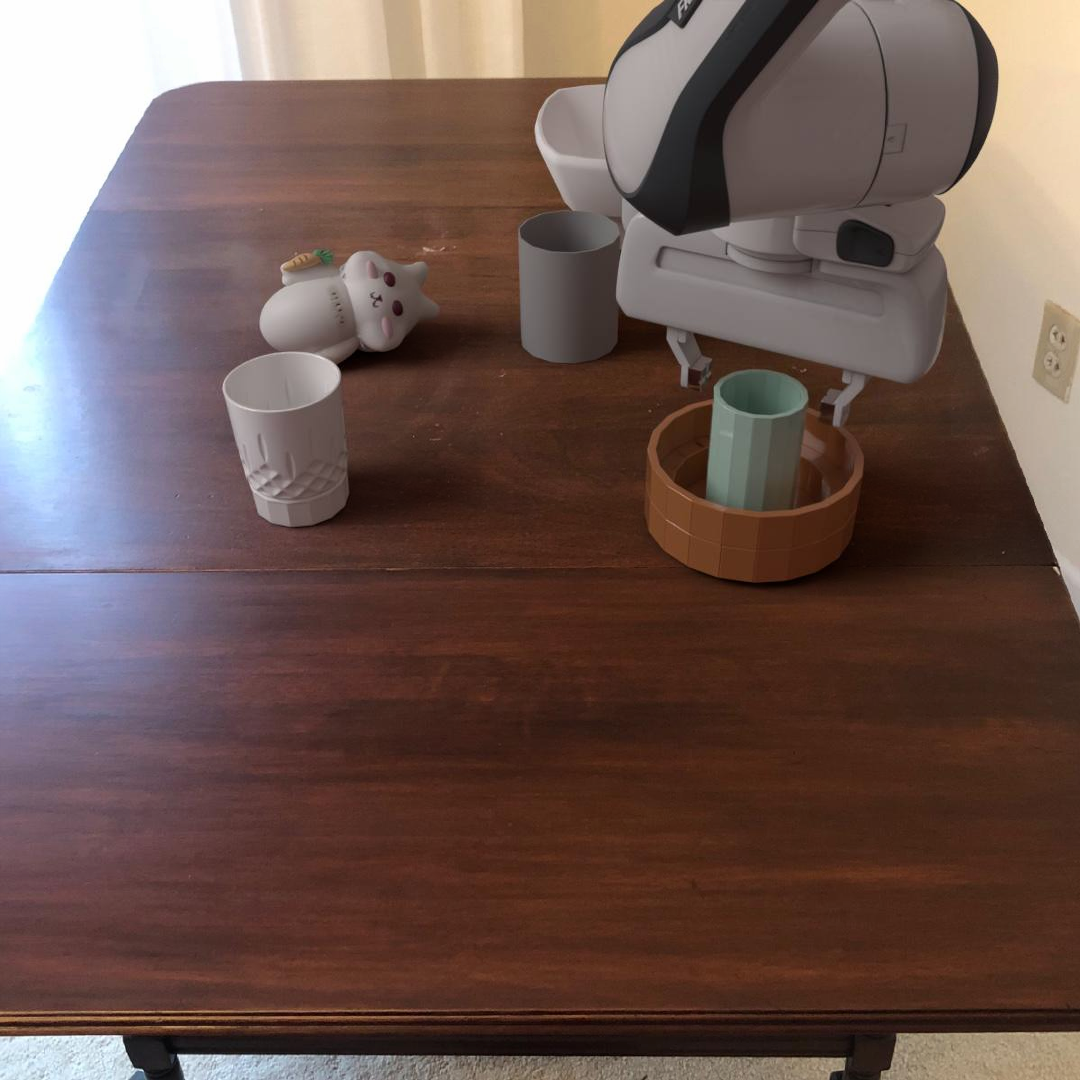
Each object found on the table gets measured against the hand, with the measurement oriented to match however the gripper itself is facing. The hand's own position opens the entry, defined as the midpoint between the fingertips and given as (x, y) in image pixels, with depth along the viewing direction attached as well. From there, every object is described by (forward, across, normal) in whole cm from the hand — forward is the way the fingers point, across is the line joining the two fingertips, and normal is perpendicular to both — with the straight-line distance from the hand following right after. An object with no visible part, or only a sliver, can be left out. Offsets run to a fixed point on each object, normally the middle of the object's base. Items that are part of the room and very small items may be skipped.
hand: (762, 403), depth 79 cm
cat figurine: (+10, -39, +7) cm, 41 cm away
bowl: (+10, -27, +40) cm, 49 cm away
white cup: (+10, -29, -13) cm, 34 cm away
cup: (+10, -24, +17) cm, 31 cm away
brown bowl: (+10, 0, 0) cm, 10 cm away
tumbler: (+9, 0, 0) cm, 9 cm away
